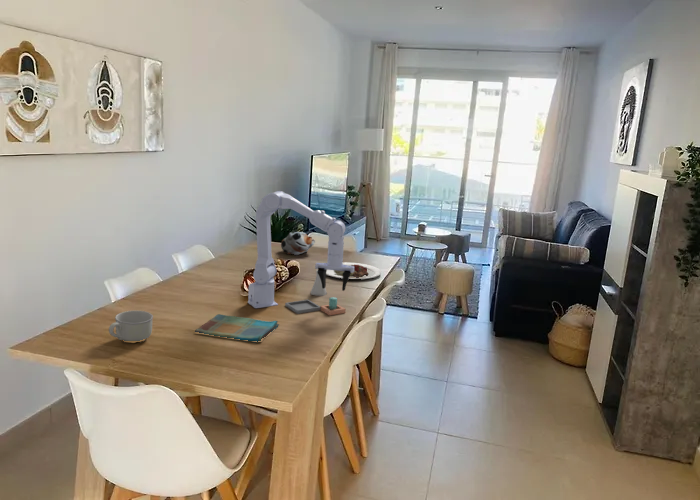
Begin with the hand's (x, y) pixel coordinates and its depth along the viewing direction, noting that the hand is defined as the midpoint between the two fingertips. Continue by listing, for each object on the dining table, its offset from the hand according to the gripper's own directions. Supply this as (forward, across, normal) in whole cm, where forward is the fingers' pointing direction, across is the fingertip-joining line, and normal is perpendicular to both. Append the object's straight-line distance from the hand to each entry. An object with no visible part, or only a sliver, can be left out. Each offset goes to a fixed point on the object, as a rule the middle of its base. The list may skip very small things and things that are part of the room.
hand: (333, 288), depth 195 cm
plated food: (+10, +5, -58) cm, 59 cm away
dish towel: (+10, +26, +29) cm, 40 cm away
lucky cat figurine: (+9, +42, -89) cm, 99 cm away
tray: (+9, +12, 0) cm, 15 cm away
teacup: (+9, +53, +48) cm, 72 cm away
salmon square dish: (+9, 0, 0) cm, 9 cm away
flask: (+9, +11, -20) cm, 25 cm away
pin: (+9, 0, 0) cm, 9 cm away
